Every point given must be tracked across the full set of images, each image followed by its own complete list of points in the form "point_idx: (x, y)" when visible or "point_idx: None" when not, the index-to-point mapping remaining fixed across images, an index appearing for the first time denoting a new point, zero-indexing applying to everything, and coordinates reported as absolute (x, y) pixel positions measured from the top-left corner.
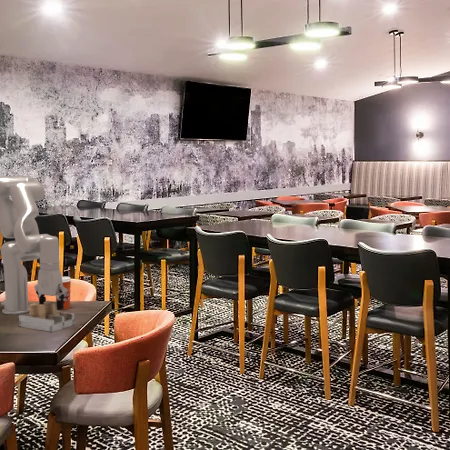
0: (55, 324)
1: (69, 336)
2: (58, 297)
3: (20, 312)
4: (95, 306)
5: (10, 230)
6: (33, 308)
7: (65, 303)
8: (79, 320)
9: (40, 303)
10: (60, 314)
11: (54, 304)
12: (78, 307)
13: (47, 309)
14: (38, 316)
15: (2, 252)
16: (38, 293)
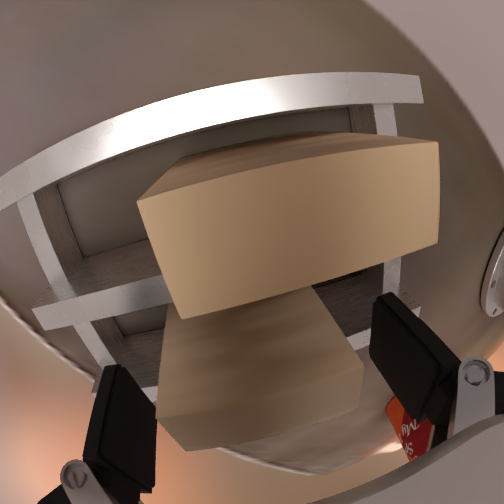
0: (31, 223)
1: None
2: (74, 496)
3: (497, 254)
4: (322, 459)
5: None
6: (330, 145)
7: (399, 418)
8: None
9: (399, 325)
10: None
11: (158, 409)
12: (364, 430)
13: (275, 326)
14: (209, 157)
15: None
16: (501, 396)
